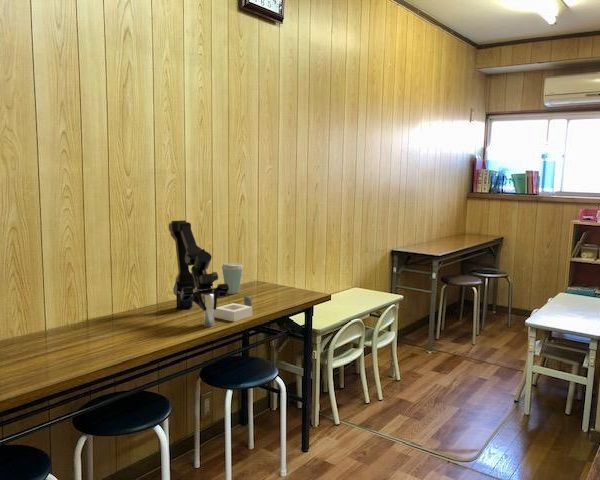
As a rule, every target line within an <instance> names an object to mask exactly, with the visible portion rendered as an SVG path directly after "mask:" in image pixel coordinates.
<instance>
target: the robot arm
mask: <svg viewBox="0 0 600 480" xmlns="http://www.w3.org/2000/svg"><path fill="white" fill-rule="evenodd" d="M168 231H169V233H170V236H171V238H173V240H174V241H175V251H176V253H175V254H176V261H177V270H178V273H177V275H176V277H175V282H174V285H173V288H172V291H173V295H174V296H176V306H175V309H176V310H190V309H191V308H193V306H194V303H195V304H196V305H197V306H198V307H200V308H201V310H202V311H203V312H204V311H205V305H204V299H203V297H202V295H204V294H206V293H213V294H214V311H215V310H216V308H217V306H218V305H217V304H218V302H217V301H218V299H219V298H220V297H226V296H227V295H228V294H227V292H228V290H229V286H228V284H226V283H225V284H224V283H218V284H217V286H216V287H213V286H214V284H213V283H215V281H218V280H219V274H218V272H217V271H213V272H211V273H208V272H207V270H208V269H209V265H210V264H211V260H212V254H210V252H208V251H206V250H205V249H204V248H203V249H202V248H201V247H199V246H198V245H197V242H196V239H195V237H194V234H193V231H192V223H191V222H189V221H186V220H185V219H183V220H171V222H170V223H169V224H168ZM190 266H191V268H190V269H189V267H190ZM190 270H191V271H190Z"/></svg>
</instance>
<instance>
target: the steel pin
mask: <svg viewBox="0 0 600 480" xmlns="http://www.w3.org/2000/svg"><path fill="white" fill-rule="evenodd" d="M203 303H204V305H205V311H203V326H204V327H206V328H212V327H215V309H214V294H213V293H206V294H203Z"/></svg>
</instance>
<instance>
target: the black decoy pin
mask: <svg viewBox="0 0 600 480" xmlns="http://www.w3.org/2000/svg"><path fill="white" fill-rule="evenodd" d="M252 298H253V297H252V296H251V295H249V296H247V295H246V296H244V297H243V300H244V301H243V305H245V306H251V307H252V308H253V306H252V304H253V303H252V301H253V299H252Z"/></svg>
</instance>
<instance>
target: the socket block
mask: <svg viewBox="0 0 600 480" xmlns="http://www.w3.org/2000/svg"><path fill="white" fill-rule="evenodd" d="M251 317H253V306H252V307H251V306H245V305H244V304H239V303H235V302H234V303H233V302H232V303H228V304H225V305H221V306H216V310H215V309H214V319H215V318H216V319H220V320H225V321H230V322H237V321H241V320H245V319H248V318H251Z"/></svg>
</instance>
